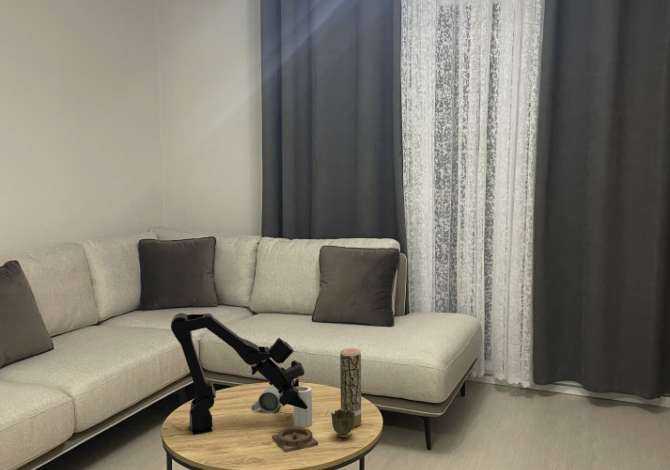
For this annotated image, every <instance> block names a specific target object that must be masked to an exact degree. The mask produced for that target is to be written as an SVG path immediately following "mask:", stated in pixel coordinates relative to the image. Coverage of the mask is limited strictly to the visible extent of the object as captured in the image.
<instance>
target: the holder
mask: <svg viewBox="0 0 670 470" xmlns="http://www.w3.org/2000/svg"><path fill="white" fill-rule="evenodd" d="M271 438H272V440H273V441H274V443H276V445H278V447H279V448H281V450H282V451H283V452H284V453H288V452H292V451H296V450H302V449H307V448H310V447H315V446H319V442H318V440H317V439H316V438H315V437H313V432H312V431H311V430H310V429H309V428H307V427H297V426H294V427H292V426H291V427H286V428H282V429H281V430H279V431H278V432H277V434H274V435H272V436H271Z"/></svg>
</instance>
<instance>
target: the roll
mask: <svg viewBox="0 0 670 470" xmlns="http://www.w3.org/2000/svg"><path fill="white" fill-rule="evenodd" d="M299 386H300V387H299ZM299 386H297V387H295V388H296V389H298V395H299V396H300V397H301V399H302V400H303V401H304V402H305V404H306V405H307V406H308V408H307V409H302V408H299V407H296V406H293V425H294V427H302V428H307V427H310V426H312V425H313V403H312V402H313V401H312V400H313V397H312V395H313V394H312V387H311V386H307V385H299Z"/></svg>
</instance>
